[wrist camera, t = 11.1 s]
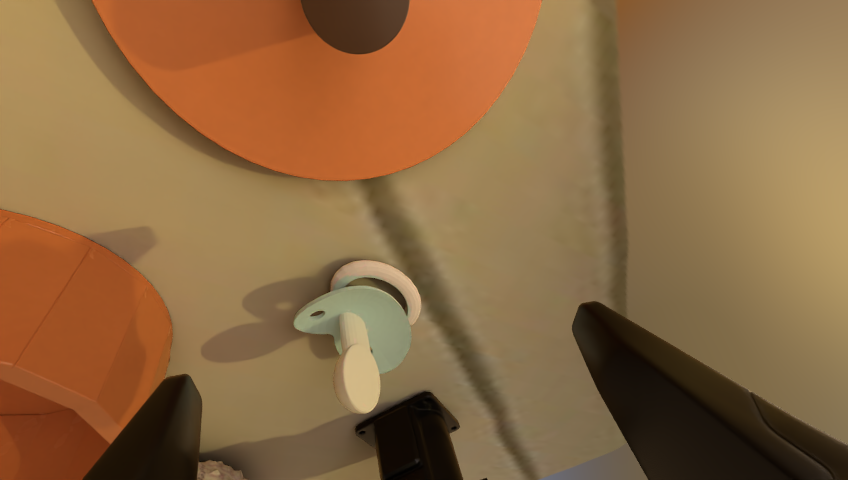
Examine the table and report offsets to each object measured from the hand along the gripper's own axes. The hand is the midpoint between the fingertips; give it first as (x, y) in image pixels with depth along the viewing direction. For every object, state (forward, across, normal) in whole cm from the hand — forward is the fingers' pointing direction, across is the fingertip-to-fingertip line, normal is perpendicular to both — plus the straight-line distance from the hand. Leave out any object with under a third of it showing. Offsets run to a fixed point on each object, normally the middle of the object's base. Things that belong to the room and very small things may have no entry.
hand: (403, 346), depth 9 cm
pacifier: (+11, 0, +9) cm, 14 cm away
